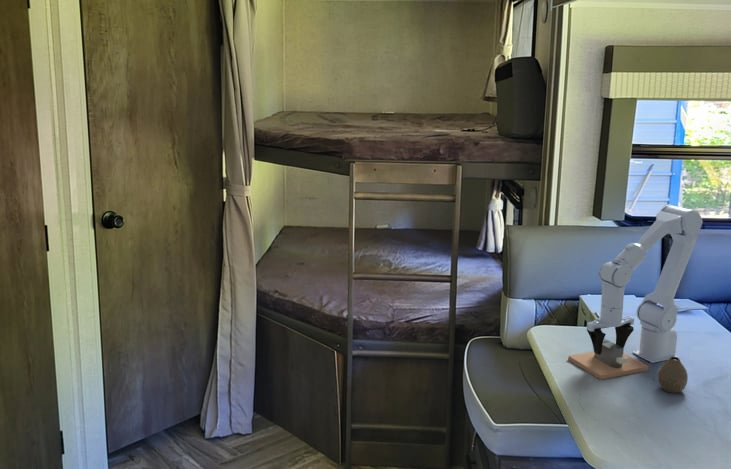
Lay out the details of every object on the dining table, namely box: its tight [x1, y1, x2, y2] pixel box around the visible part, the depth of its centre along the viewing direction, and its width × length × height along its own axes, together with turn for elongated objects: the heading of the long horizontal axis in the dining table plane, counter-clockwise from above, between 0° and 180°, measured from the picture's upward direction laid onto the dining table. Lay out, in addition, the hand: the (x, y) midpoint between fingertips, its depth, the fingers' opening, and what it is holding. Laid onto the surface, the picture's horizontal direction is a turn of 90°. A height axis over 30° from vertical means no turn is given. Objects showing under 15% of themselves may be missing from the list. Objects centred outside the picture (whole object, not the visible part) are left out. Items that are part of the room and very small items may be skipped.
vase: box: [657, 356, 688, 394], centre depth 169 cm, size 7×7×9 cm
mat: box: [568, 350, 649, 380], centre depth 185 cm, size 16×14×1 cm
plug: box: [594, 338, 628, 368], centre depth 184 cm, size 4×11×5 cm, turn 20°
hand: (608, 351), depth 184 cm, fingers open, 7 cm apart
